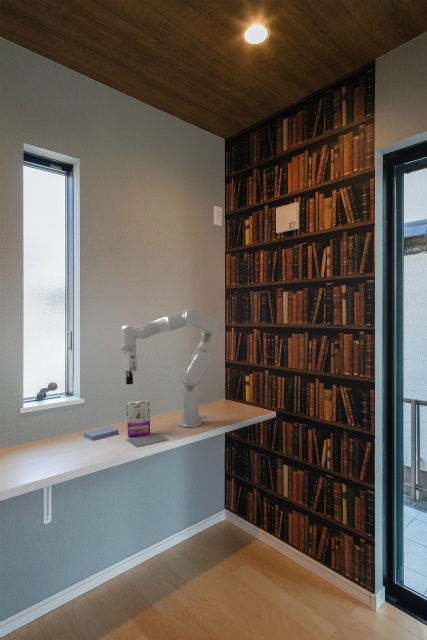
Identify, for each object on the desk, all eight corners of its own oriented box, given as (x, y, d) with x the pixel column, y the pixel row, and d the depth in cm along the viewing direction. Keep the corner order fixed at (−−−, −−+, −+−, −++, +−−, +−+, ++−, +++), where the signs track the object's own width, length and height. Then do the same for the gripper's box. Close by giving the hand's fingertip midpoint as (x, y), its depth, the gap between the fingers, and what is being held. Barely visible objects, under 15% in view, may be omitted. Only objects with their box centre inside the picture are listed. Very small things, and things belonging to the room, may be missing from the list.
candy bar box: (149, 432, 189) (148, 400, 190) (150, 434, 184) (149, 401, 186) (127, 435, 186) (126, 402, 188) (127, 437, 181) (126, 403, 183)
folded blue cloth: (109, 431, 196) (108, 426, 196) (118, 434, 189) (118, 430, 189) (83, 437, 186) (83, 432, 186) (92, 441, 179) (92, 436, 179)
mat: (156, 433, 187) (156, 433, 187) (168, 440, 176) (168, 439, 176) (126, 440, 178) (126, 439, 178) (136, 447, 167) (136, 446, 167)
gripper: (141, 349, 189) (142, 385, 189) (130, 348, 202) (131, 381, 202) (127, 349, 185) (127, 386, 185) (117, 348, 198) (117, 383, 197)
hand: (129, 383), depth 193 cm, fingers closed
